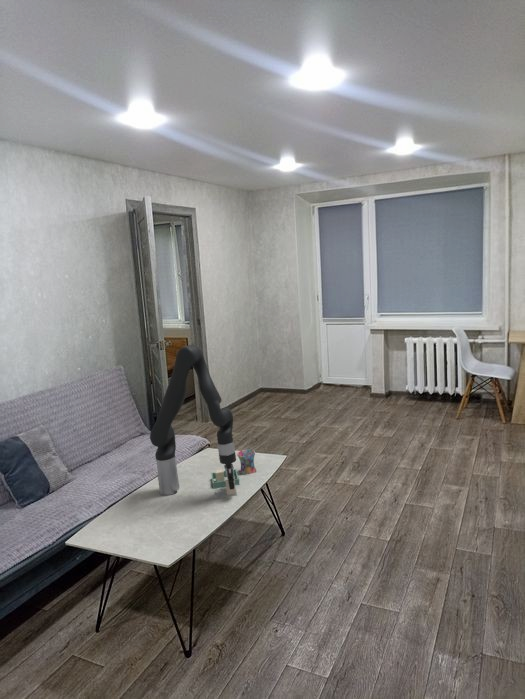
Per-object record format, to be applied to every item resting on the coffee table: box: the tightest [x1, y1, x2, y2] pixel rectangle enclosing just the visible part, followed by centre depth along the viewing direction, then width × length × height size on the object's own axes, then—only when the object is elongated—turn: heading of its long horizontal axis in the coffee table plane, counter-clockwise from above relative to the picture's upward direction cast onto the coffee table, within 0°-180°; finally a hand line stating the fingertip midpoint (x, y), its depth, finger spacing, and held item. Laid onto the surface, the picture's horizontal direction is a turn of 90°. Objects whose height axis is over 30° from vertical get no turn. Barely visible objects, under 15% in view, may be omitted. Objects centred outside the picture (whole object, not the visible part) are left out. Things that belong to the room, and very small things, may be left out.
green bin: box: [210, 468, 240, 489], centre depth 247 cm, size 13×13×4 cm
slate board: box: [214, 488, 238, 500], centre depth 233 cm, size 10×7×1 cm
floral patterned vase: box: [236, 449, 257, 475], centre depth 258 cm, size 12×9×11 cm
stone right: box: [225, 479, 237, 496], centre depth 233 cm, size 4×4×6 cm
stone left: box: [214, 468, 226, 482], centre depth 247 cm, size 4×4×6 cm
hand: (231, 485), depth 233 cm, fingers open, 8 cm apart
